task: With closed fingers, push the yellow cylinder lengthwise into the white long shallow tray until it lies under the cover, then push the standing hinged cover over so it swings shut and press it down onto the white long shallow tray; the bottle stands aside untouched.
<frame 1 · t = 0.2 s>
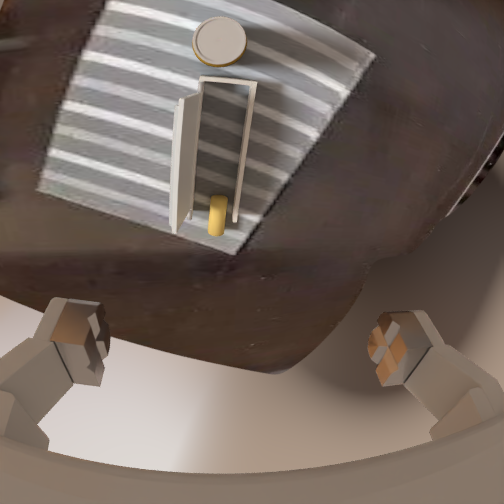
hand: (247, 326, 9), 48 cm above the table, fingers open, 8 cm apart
bottle: (220, 45, 43), on the table
white long shallow tray: (219, 149, 53), on the table
cover: (182, 161, 46), point 8 cm above the table, hinge at 100.0°
yellow cylinder: (217, 211, 60), on the table
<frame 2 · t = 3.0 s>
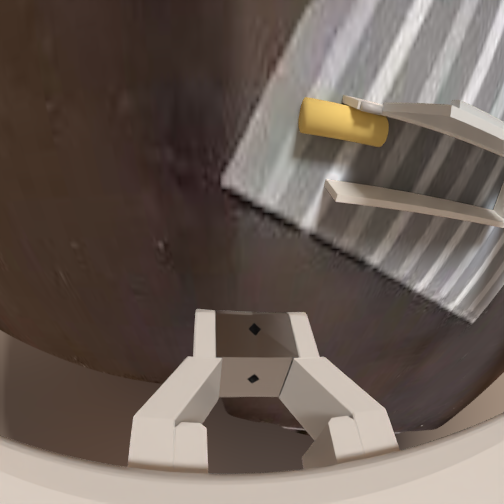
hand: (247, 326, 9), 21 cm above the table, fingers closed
white long shallow tray: (437, 164, 28), on the table
cover: (501, 139, 19), point 8 cm above the table, hinge at 100.0°
yellow cylinder: (344, 138, 24), point 2 cm above the table, tilted 127°
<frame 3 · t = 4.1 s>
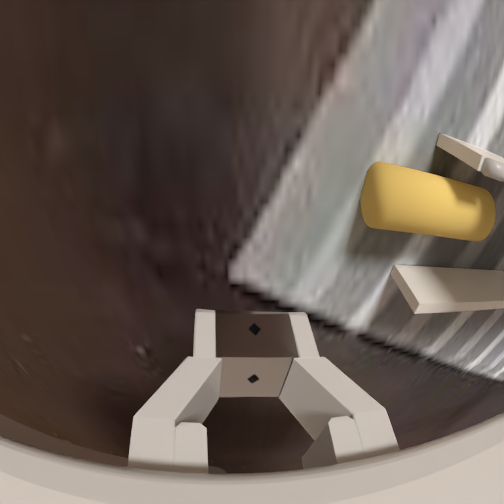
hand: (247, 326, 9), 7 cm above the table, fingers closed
yellow cylinder: (421, 227, 15), point 1 cm above the table, tilted 79°
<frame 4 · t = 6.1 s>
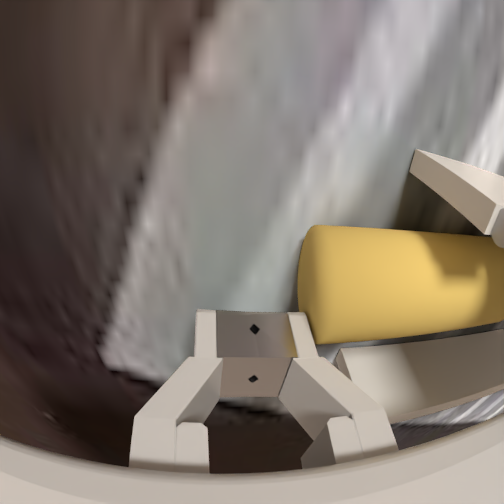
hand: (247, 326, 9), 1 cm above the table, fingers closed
yellow cylinder: (400, 309, 10), point 1 cm above the table, tilted 73°, touching gripper
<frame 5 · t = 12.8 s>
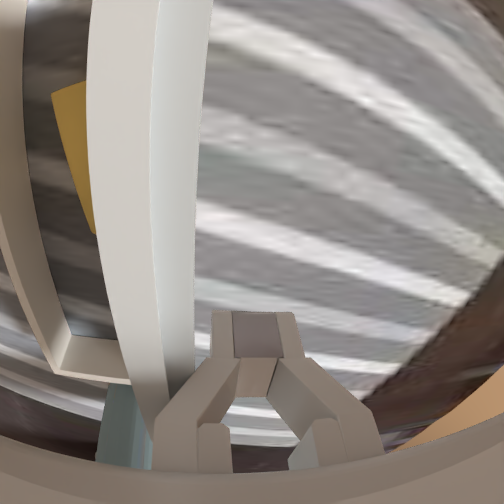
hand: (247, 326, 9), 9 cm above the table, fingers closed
bottle: (149, 383, 26), on the table
white long shallow tray: (85, 187, 15), on the table
cover: (158, 289, 10), point 8 cm above the table, hinge at 99.6°, touching gripper
yellow cylinder: (75, 158, 13), point 1 cm above the table, tilted 74°
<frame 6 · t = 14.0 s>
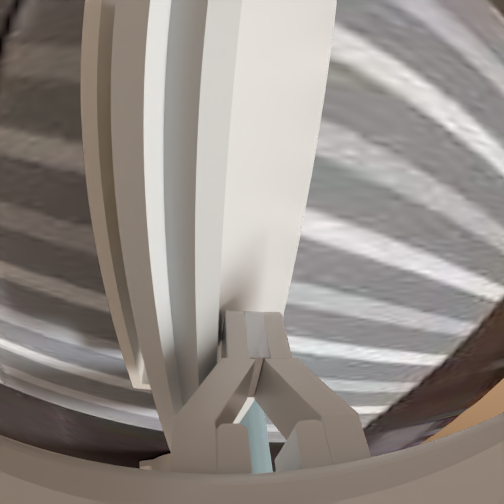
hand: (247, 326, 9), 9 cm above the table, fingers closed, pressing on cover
bottle: (221, 389, 26), on the table
white long shallow tray: (194, 194, 16), on the table
cover: (250, 293, 10), point 8 cm above the table, hinge at 56.7°, touching gripper
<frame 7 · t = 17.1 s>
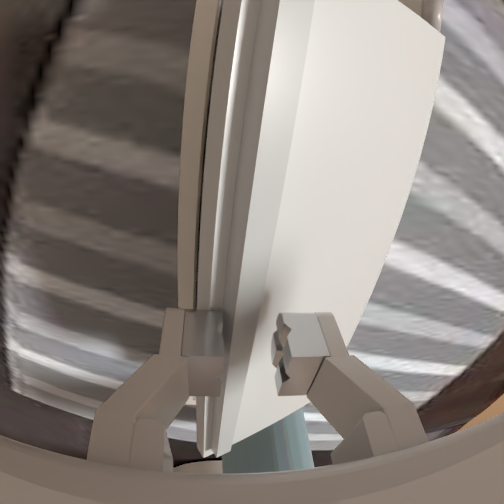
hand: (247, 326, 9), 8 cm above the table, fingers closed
bottle: (259, 400, 26), on the table
white long shallow tray: (272, 212, 16), on the table
cover: (314, 294, 11), point 6 cm above the table, hinge at 28.9°, touching gripper
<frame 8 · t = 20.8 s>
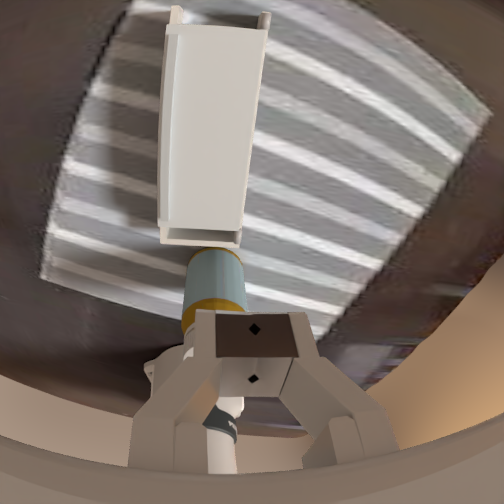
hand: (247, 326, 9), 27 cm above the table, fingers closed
bottle: (215, 266, 41), on the table
white long shallow tray: (208, 123, 31), on the table
cover: (204, 132, 27), point 4 cm above the table, hinge at 0.1°
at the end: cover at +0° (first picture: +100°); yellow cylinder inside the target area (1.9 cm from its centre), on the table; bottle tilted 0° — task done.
